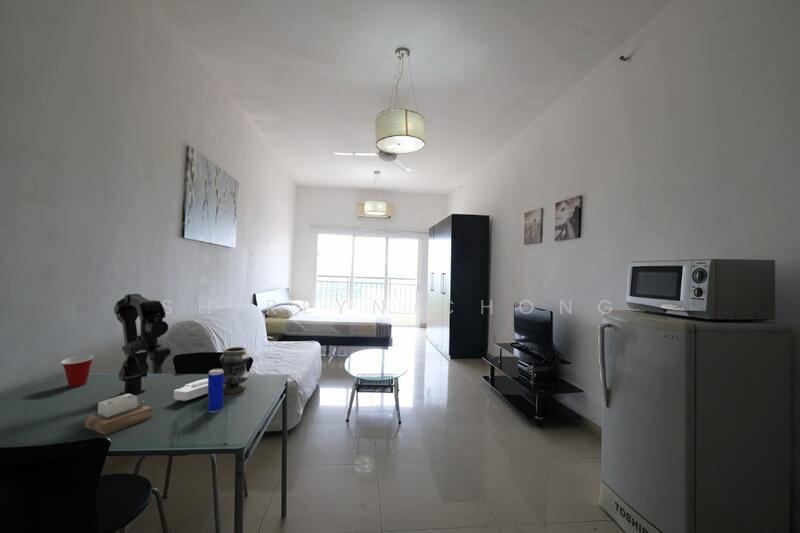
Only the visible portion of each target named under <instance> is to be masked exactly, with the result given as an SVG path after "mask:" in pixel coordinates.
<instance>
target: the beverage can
mask: <svg viewBox="0 0 800 533" xmlns="http://www.w3.org/2000/svg"><path fill="white" fill-rule="evenodd" d="M207 378H208V393H207V411H208V412H209V413H218V412H221V411H222V410H223V408H224V393H223V388H224V387H225V386H224V371H223V368H213V369H211V370H209V371H208V374H207Z"/></svg>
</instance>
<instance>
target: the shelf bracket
mask: <svg viewBox="0 0 800 533" xmlns="http://www.w3.org/2000/svg"><path fill="white" fill-rule="evenodd" d="M226 386H227V385H225V384H224V387H226ZM204 395H208V377H207V378H203V379H199V380H195V381H193V382H190V383H186V384H185V385H183V387H180V388H177V389H174V390H173V400H177V401H183V402H185V401H189V400H192V399H196V398H198V397H202V396H204Z"/></svg>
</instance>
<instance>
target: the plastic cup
mask: <svg viewBox="0 0 800 533" xmlns="http://www.w3.org/2000/svg"><path fill="white" fill-rule="evenodd" d="M94 357H95V355H92V354H87V355H86V354H85V355H76V356H73V357H68V358H65V359H62V360H61V361H60V364H62V366H63V368H64V372H65V378H66V380H67V385H68V387H69V388H75V387H81V386H85V385H87V382H88V379H89V376H90V371H91V365H92V362H93V359H94Z"/></svg>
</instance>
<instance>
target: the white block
mask: <svg viewBox="0 0 800 533" xmlns="http://www.w3.org/2000/svg"><path fill="white" fill-rule="evenodd" d="M137 403H138V396H137V395H136V394H134V395H132V394H129V393H128V394H125V395H123V394H120V395H118V396H114V397H112V398H107V399H105V400H101V401H98V402H97V413H98V414H102V416H105V417H109V416H112V415H115V414H118V413H121V412H124V411H127V410H130V409H133V408H136V407H137Z"/></svg>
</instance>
